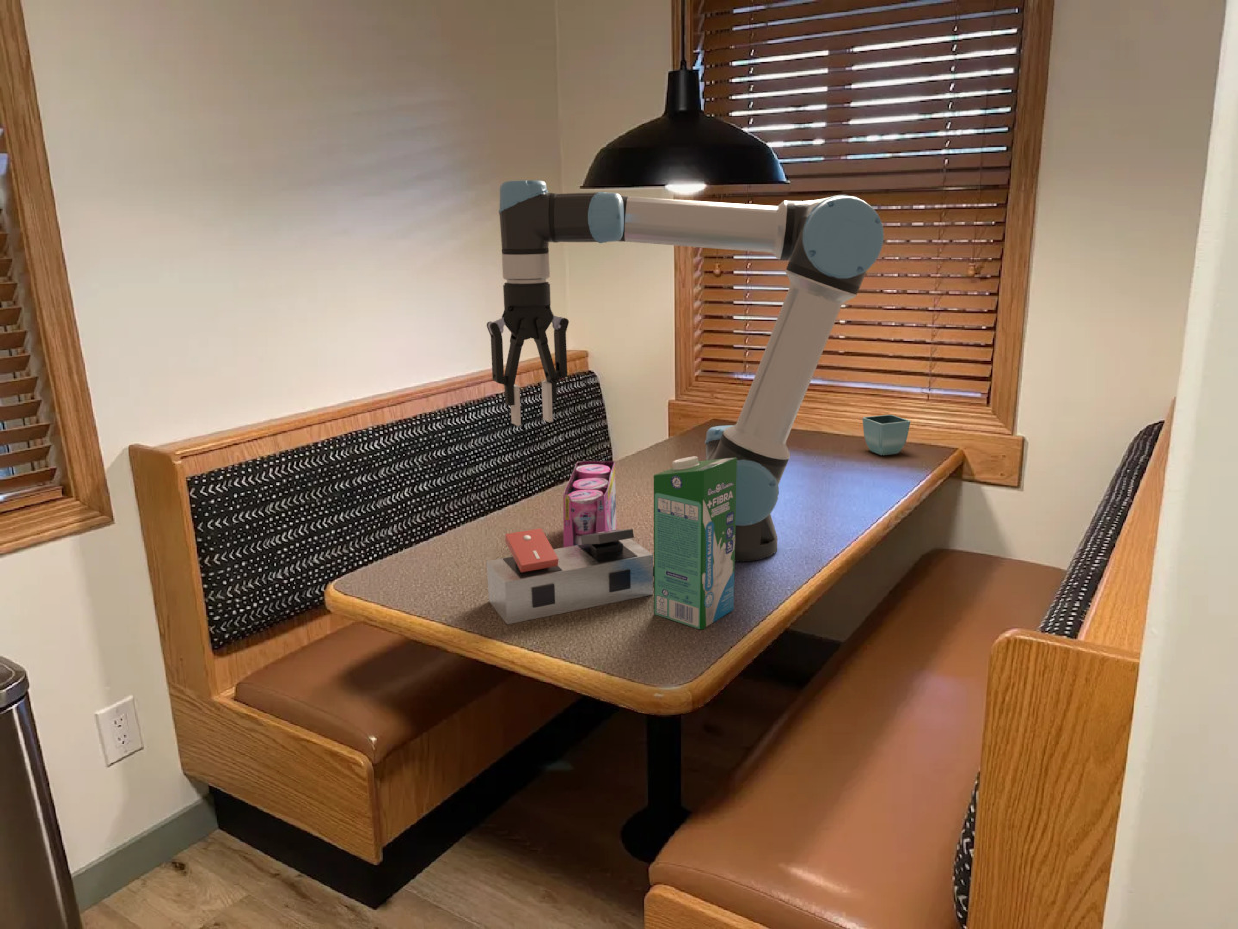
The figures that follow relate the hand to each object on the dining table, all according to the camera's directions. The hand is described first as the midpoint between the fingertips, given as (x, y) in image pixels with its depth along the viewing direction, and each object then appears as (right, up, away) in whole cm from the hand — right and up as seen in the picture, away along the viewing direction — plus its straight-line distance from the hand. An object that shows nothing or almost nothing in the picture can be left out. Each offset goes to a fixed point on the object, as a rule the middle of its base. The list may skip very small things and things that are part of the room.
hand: (532, 421), depth 151 cm
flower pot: (+83, -4, +80) cm, 115 cm away
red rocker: (+1, -21, -10) cm, 23 cm away
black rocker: (+13, -19, -4) cm, 23 cm away
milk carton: (+26, -31, -10) cm, 42 cm away
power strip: (+10, -29, -3) cm, 30 cm away
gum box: (+9, -23, +19) cm, 31 cm away
